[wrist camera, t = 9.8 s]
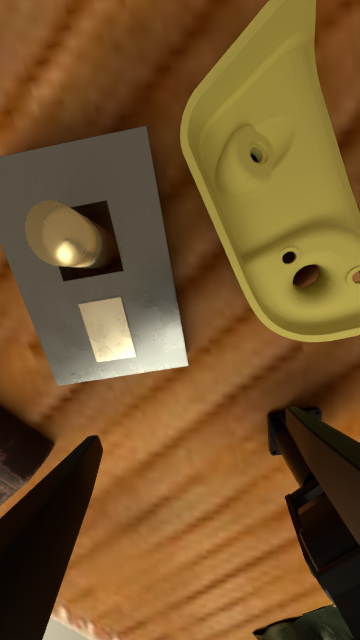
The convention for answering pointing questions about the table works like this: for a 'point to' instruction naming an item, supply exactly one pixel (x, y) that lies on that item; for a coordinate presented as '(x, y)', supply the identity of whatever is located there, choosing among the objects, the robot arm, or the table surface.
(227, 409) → the table surface
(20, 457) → the diary
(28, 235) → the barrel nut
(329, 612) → the rose bouquet
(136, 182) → the flange plate
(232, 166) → the plastic component
